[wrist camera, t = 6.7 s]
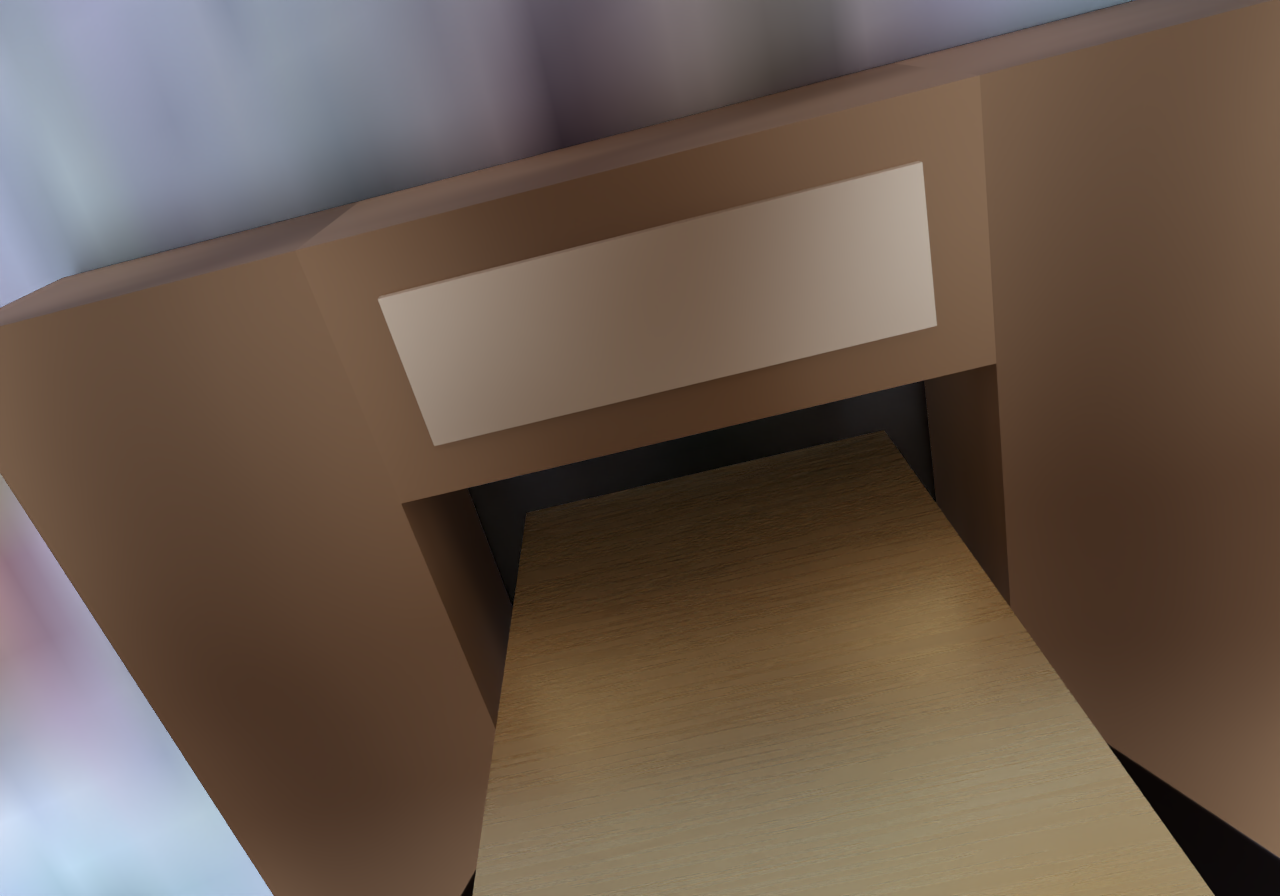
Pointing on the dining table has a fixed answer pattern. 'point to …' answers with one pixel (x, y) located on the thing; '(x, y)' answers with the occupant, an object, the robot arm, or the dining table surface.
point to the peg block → (793, 705)
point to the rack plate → (690, 410)
